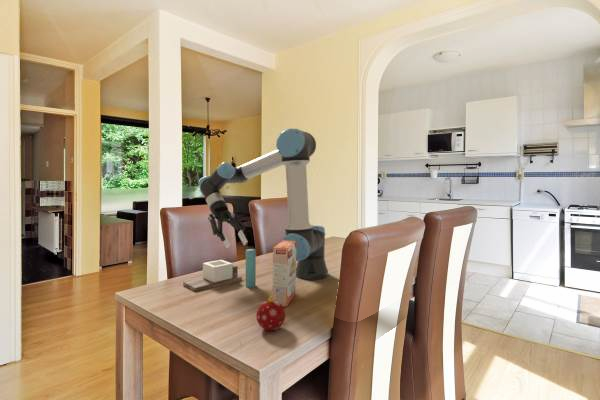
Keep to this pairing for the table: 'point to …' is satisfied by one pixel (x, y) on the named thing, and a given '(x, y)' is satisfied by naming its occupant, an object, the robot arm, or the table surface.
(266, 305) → the christmas ornament
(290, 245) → the cracker box
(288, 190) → the robot arm
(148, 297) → the table surface
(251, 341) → the table surface
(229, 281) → the rail board
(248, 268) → the dowel
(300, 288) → the table surface
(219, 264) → the block
